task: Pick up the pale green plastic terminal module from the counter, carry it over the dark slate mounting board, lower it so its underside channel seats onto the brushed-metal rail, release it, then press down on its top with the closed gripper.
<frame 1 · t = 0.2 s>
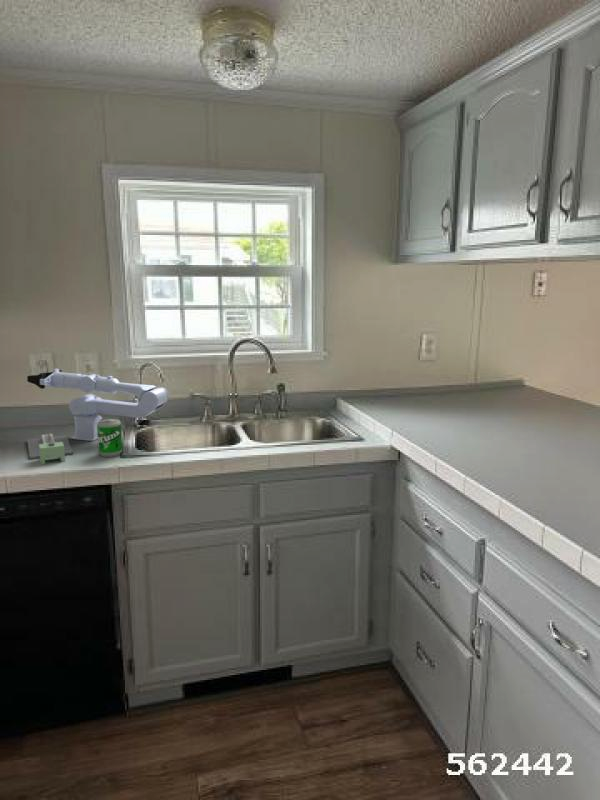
hand: (35, 377, 202), 22 cm above the worktop, tool horizontal, fingers open, 7 cm apart
board: (49, 447, 189), on the worktop
soda can: (110, 454, 184), on the worktop
module: (52, 460, 176), on the worktop
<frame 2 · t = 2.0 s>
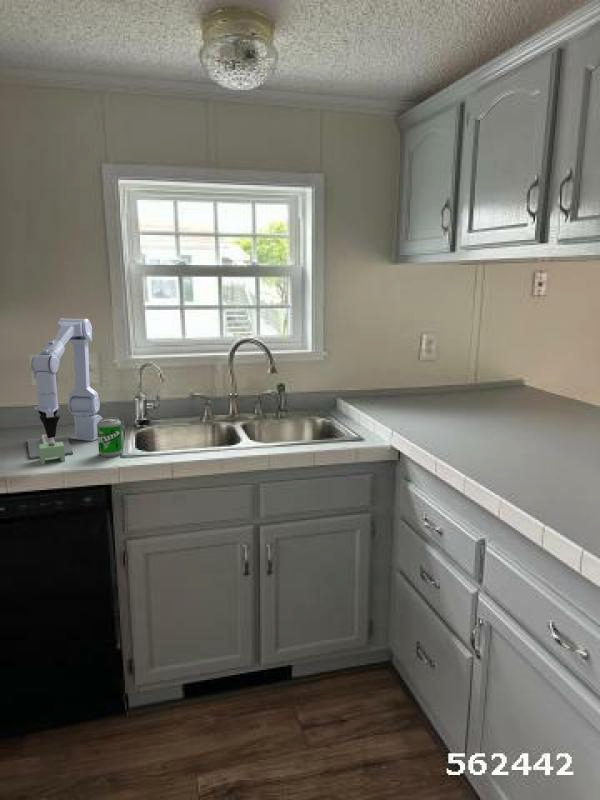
hand: (50, 434, 175), 9 cm above the worktop, tool pointing down, fingers open, 7 cm apart
nothing on the worktop moved.
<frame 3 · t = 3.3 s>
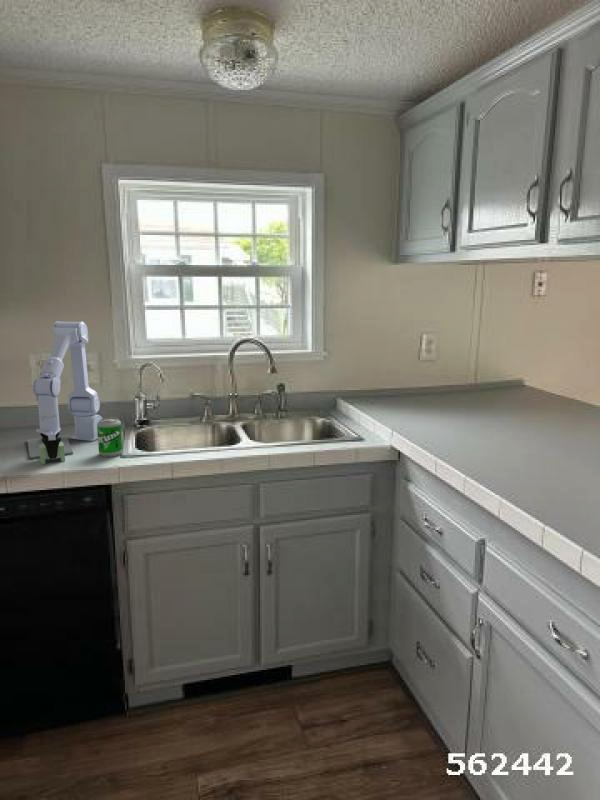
hand: (52, 456, 176), 1 cm above the worktop, tool pointing down, fingers closed on module, 5 cm apart
module: (52, 460, 176), on the worktop, touching gripper
everything else where it was.
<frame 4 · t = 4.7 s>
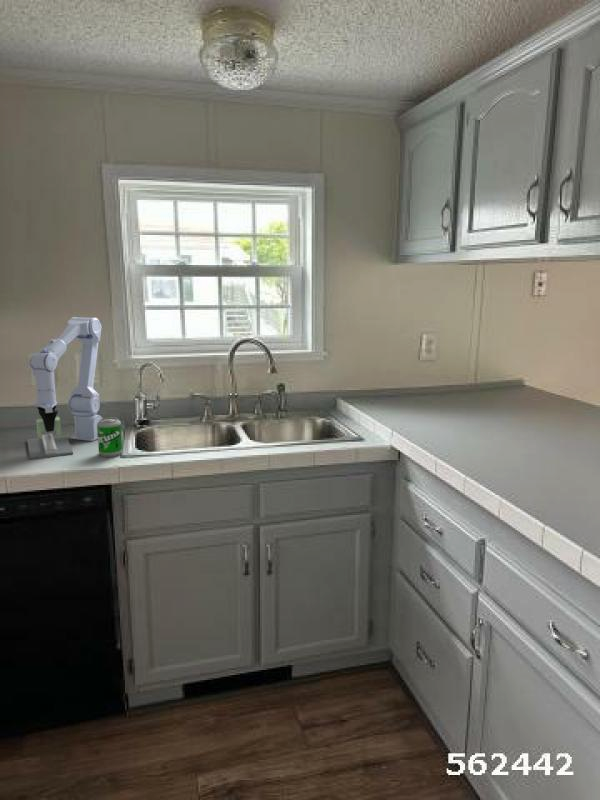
hand: (49, 429, 182), 8 cm above the worktop, tool pointing down, fingers closed on module, 5 cm apart
module: (49, 434, 183), point 6 cm above the worktop, touching gripper
everything else where it was.
when the fingers open (3 cm above the worktop, at t = 6.5 s): module stays where it is, resting on board.
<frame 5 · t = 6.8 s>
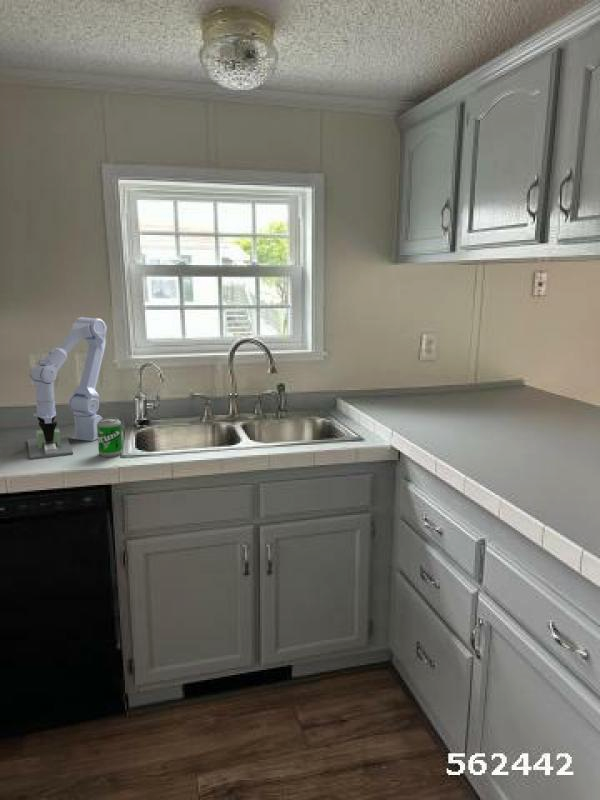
hand: (48, 438, 189), 3 cm above the worktop, tool pointing down, fingers open, 7 cm apart
module: (49, 445, 189), point 1 cm above the worktop, touching board
everything else where it was.
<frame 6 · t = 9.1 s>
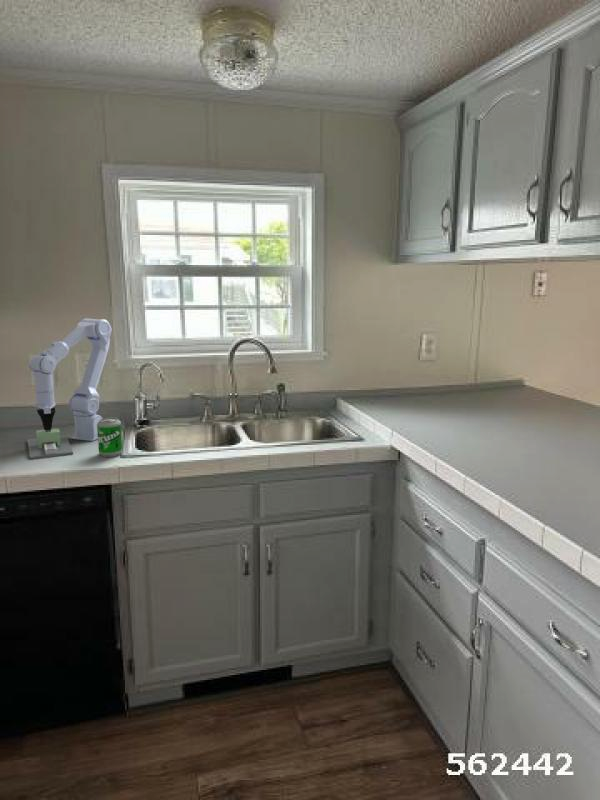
hand: (47, 429, 188), 7 cm above the worktop, tool pointing down, fingers closed, pressing on module
module: (49, 445, 189), point 1 cm above the worktop, touching board, gripper
everything else where it was.
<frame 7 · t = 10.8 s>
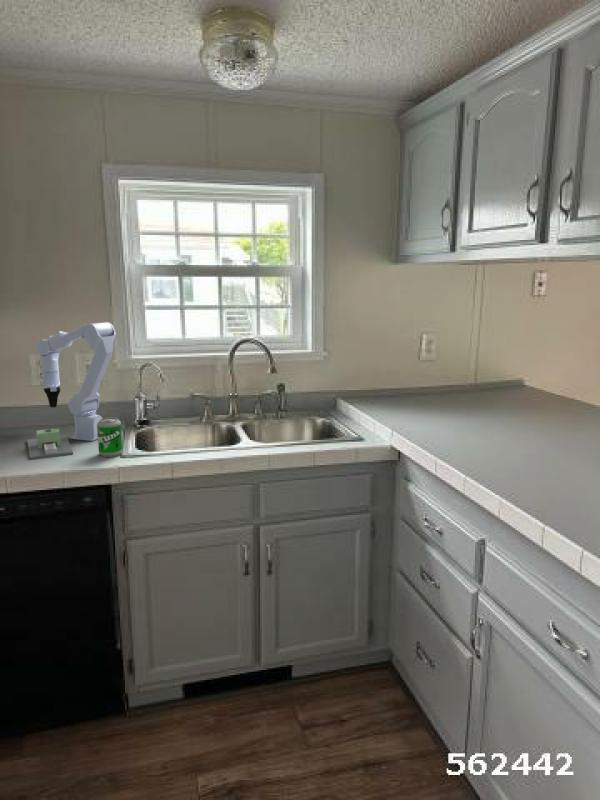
hand: (53, 406, 206), 10 cm above the worktop, tool pointing down, fingers closed
module: (49, 445, 189), point 1 cm above the worktop, touching board
everything else where it was.
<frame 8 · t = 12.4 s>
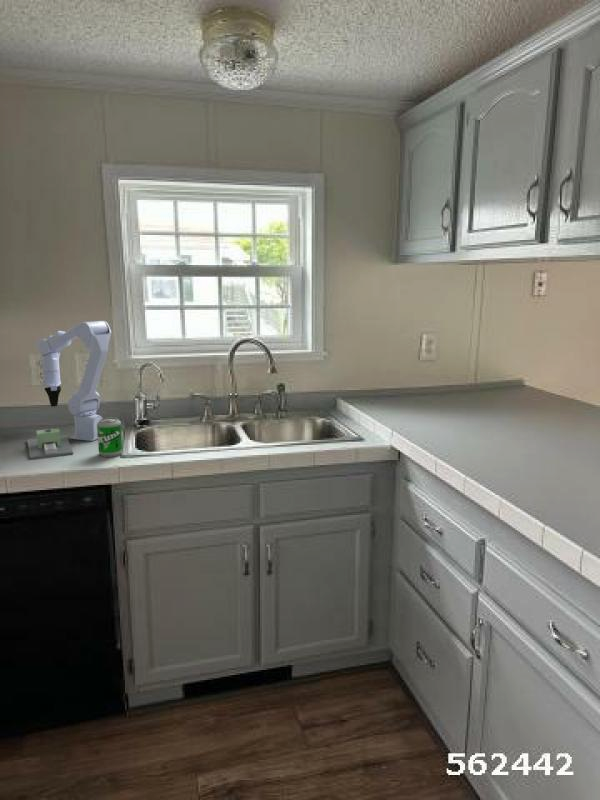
hand: (54, 406, 208), 10 cm above the worktop, tool pointing down, fingers closed
nothing on the worktop moved.
at the end: module 0.0 cm off-centre on the board, point 0.8 cm above the board's base; module tilted 0°; the gripper is holding nothing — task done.
